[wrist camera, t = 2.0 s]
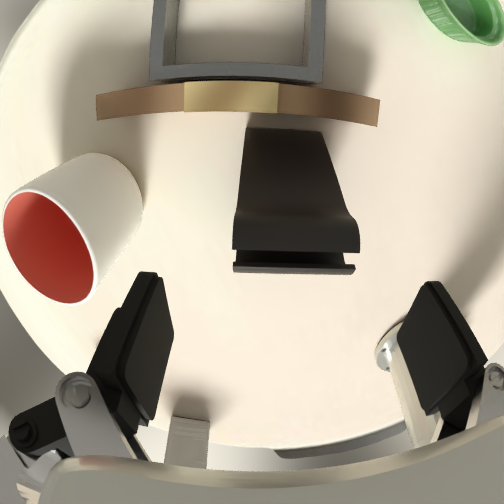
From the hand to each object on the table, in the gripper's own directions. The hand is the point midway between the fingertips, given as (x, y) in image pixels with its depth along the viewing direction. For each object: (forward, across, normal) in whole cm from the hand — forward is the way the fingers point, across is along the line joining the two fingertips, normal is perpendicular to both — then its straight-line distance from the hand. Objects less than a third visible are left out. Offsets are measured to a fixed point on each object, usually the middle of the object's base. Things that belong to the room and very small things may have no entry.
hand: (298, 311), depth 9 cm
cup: (+16, +16, +3) cm, 23 cm away
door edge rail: (+16, +3, -6) cm, 17 cm away
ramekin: (+16, -16, -20) cm, 30 cm away
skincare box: (+15, +12, +52) cm, 55 cm away
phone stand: (+16, -1, +1) cm, 16 cm away
